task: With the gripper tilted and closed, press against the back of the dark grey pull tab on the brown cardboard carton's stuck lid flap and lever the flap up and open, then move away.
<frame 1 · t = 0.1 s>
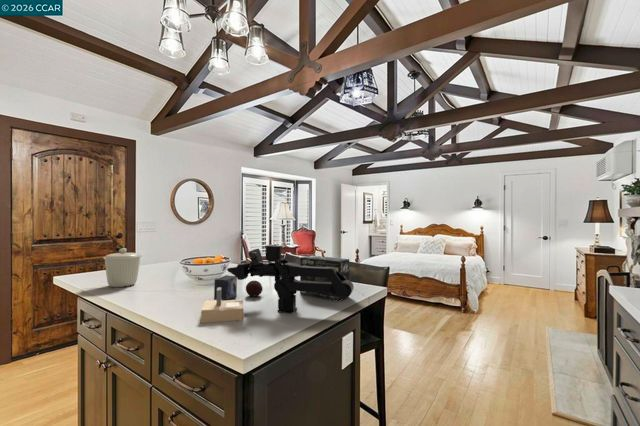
hand: (233, 267, 132), 17 cm above the worktop, tool horizontal, fingers open, 9 cm apart
carton: (223, 315, 119), on the worktop
flap: (212, 297, 118), point 7 cm above the worktop, hinge at 0.0°
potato: (254, 296, 148), on the worktop
box: (324, 296, 149), on the worktop
small box: (225, 300, 142), on the worktop
canister: (122, 285, 170), on the worktop
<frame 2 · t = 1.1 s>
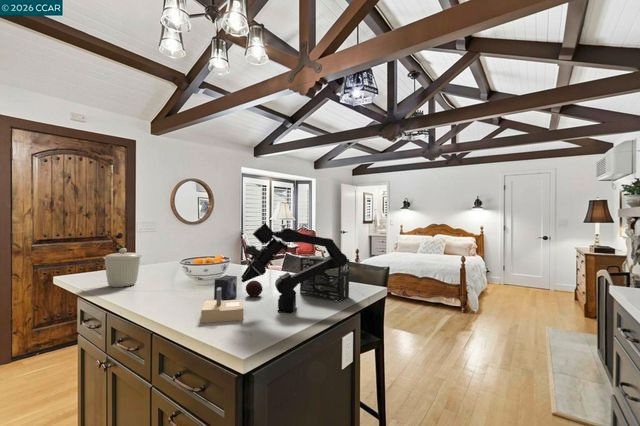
hand: (242, 279, 121), 14 cm above the worktop, tool tilted 45°, fingers open, 7 cm apart
nothing on the worktop moved.
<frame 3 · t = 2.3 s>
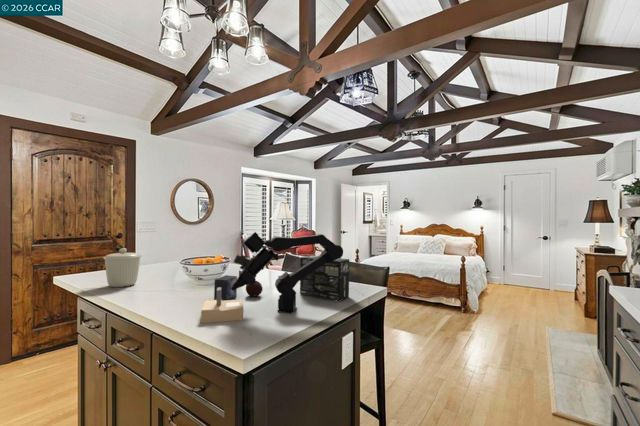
hand: (231, 289, 119), 10 cm above the worktop, tool tilted 45°, fingers closed
nothing on the worktop moved.
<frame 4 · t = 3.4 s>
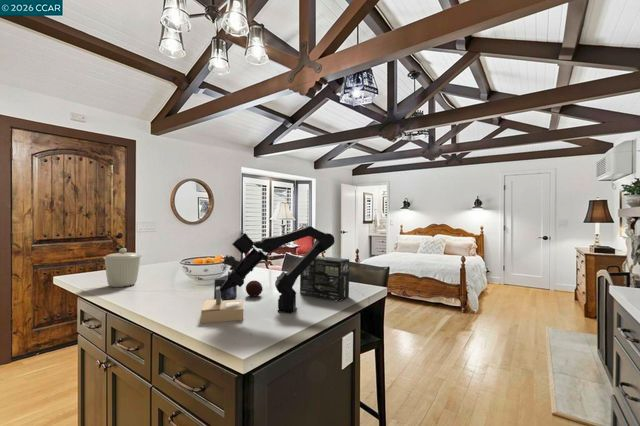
hand: (220, 290, 118), 10 cm above the worktop, tool tilted 45°, fingers closed, pressing on flap
flap: (211, 297, 117), point 8 cm above the worktop, hinge at 3.9°, touching gripper
everything else where it was.
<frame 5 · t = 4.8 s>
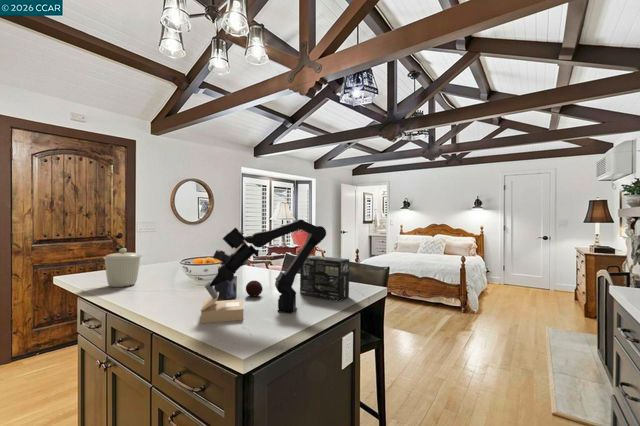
hand: (210, 285, 117), 12 cm above the worktop, tool tilted 45°, fingers closed, pressing on flap
flap: (206, 294, 117), point 9 cm above the worktop, hinge at 32.5°, touching gripper
everything else where it was.
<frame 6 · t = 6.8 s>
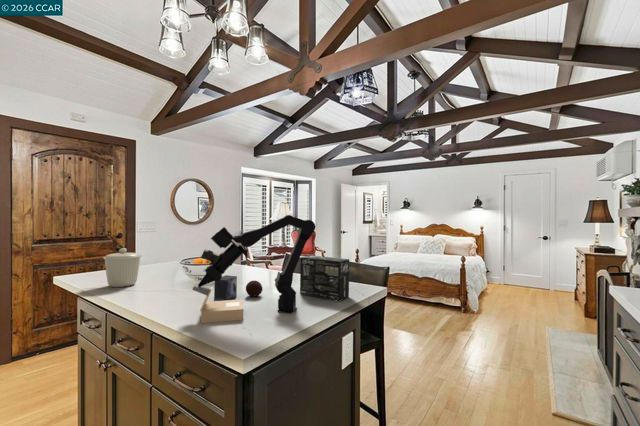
hand: (198, 285, 116), 12 cm above the worktop, tool tilted 45°, fingers closed
flap: (199, 295, 116), point 8 cm above the worktop, hinge at 64.3°
everything else where it was.
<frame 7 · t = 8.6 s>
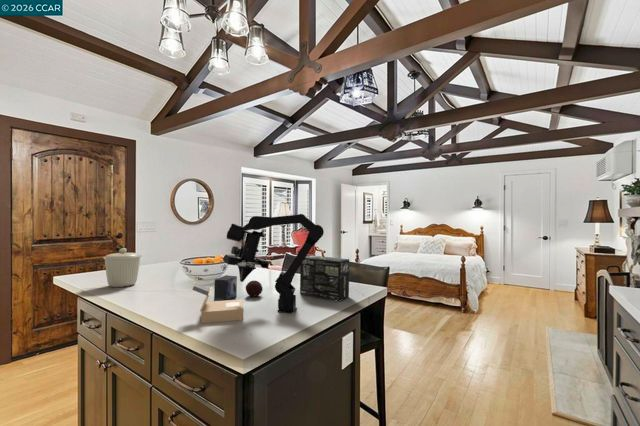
hand: (241, 281, 125), 12 cm above the worktop, tool pointing down, fingers closed
nothing on the worktop moved.
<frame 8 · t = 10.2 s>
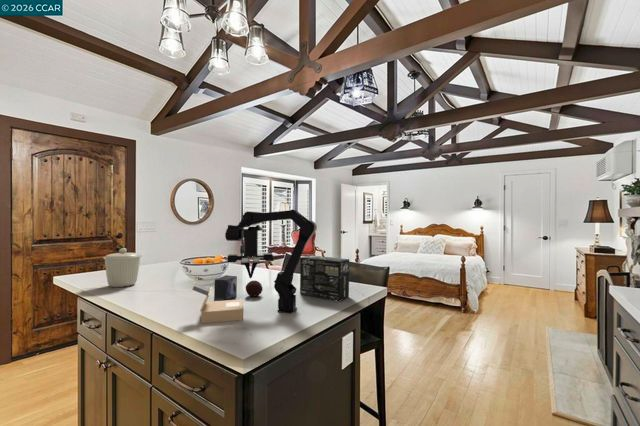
hand: (250, 278, 128), 13 cm above the worktop, tool pointing down, fingers closed
nothing on the worktop moved.
at the end: flap at +64° (first picture: +0°); the gripper is holding nothing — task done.
